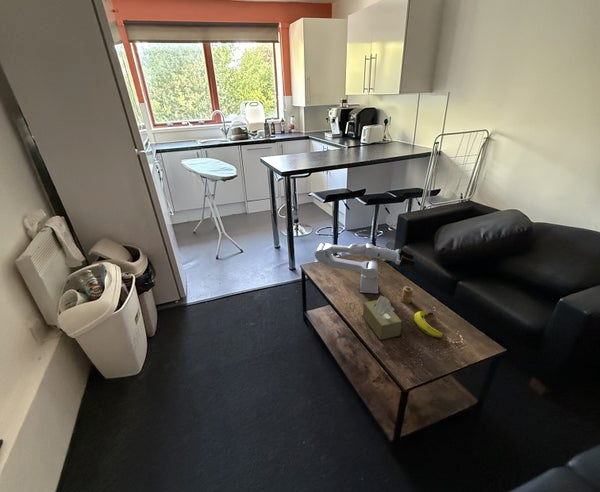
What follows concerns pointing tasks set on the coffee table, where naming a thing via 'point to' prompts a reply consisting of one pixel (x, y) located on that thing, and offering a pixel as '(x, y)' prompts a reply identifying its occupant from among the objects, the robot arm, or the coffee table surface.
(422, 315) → the banana
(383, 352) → the coffee table surface
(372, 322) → the tissue dispenser
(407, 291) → the pepper mill
